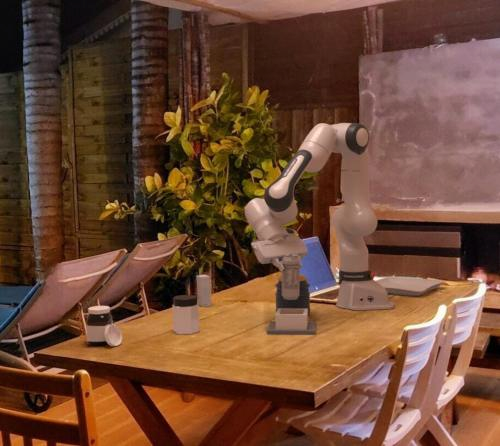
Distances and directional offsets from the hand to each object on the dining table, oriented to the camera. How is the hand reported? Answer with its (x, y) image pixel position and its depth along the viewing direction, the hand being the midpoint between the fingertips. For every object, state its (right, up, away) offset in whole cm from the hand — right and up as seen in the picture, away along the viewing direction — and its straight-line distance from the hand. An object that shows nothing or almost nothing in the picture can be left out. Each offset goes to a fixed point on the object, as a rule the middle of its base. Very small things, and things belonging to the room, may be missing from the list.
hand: (291, 268), depth 241 cm
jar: (-36, -22, +3) cm, 42 cm away
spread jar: (-61, -24, -11) cm, 66 cm away
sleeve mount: (0, -21, +2) cm, 21 cm away
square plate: (+53, -14, +69) cm, 88 cm away
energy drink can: (0, -10, +2) cm, 10 cm away
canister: (+2, -19, +23) cm, 30 cm away
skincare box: (-33, -18, +46) cm, 60 cm away
